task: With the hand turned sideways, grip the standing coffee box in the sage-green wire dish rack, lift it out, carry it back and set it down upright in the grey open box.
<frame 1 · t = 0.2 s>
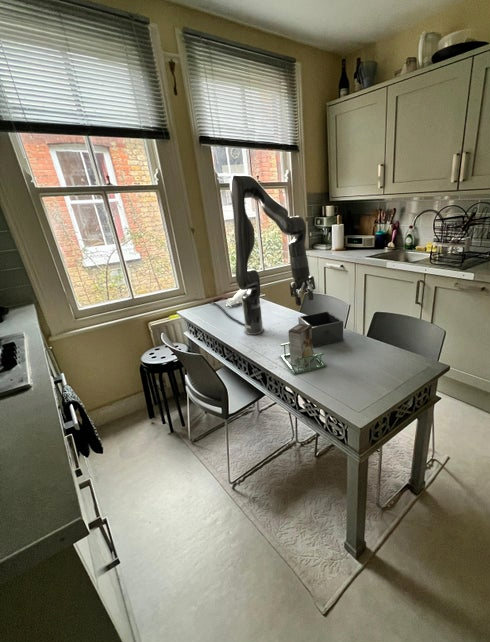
hand: (305, 302, 140), 22 cm above the table, tool pointing down, fingers open, 8 cm apart
coffee box: (302, 362, 137), resting in dish rack
dish rack: (302, 361, 137), on the table
grey open box: (320, 337, 159), on the table
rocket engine: (238, 303, 217), on the table
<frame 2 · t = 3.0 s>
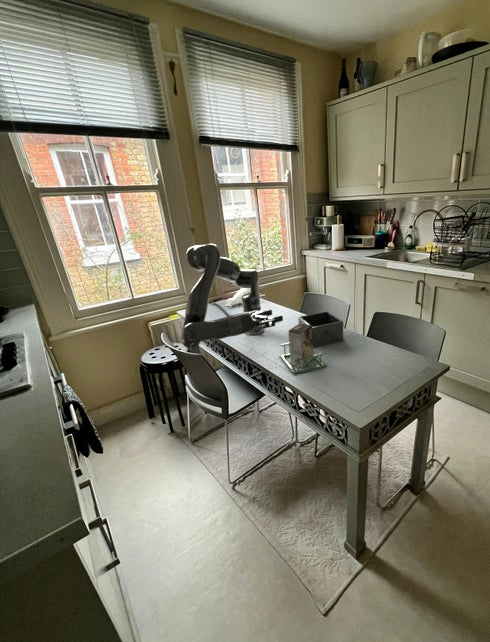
hand: (276, 314, 122), 24 cm above the table, tool horizontal, fingers open, 8 cm apart
nothing on the table moved.
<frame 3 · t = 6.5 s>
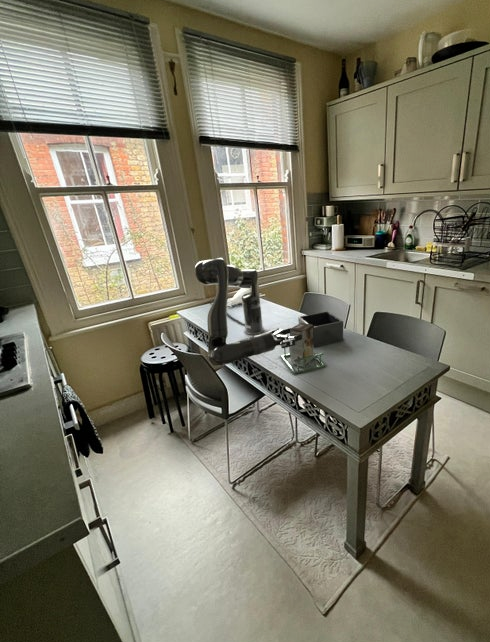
hand: (296, 333, 130), 14 cm above the table, tool horizontal, fingers open, 8 cm apart
coffee box: (302, 361, 137), resting in dish rack, touching gripper
everything else where it was.
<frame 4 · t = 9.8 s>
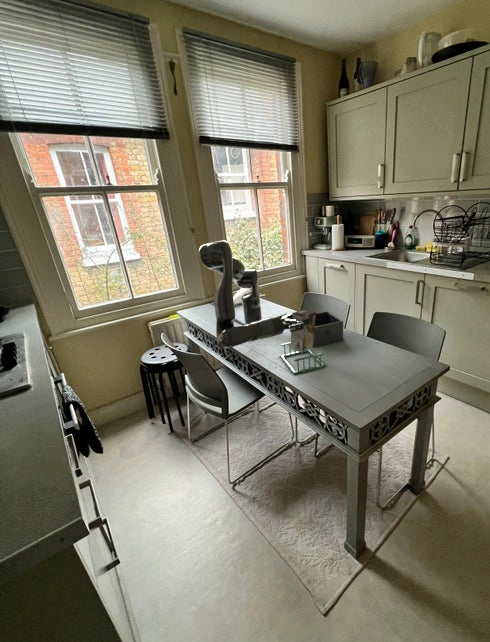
hand: (304, 318, 130), 20 cm above the table, tool horizontal, fingers closed on coffee box, 8 cm apart
coffee box: (301, 348, 135), point 6 cm above the table, touching gripper
everything else where it was.
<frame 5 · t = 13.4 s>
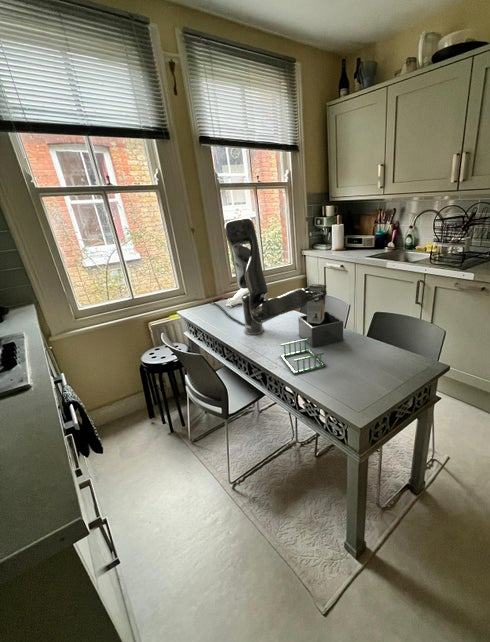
hand: (317, 290, 138), 27 cm above the table, tool horizontal, fingers closed on coffee box, 8 cm apart
coffee box: (315, 321, 143), point 14 cm above the table, touching gripper
everything else where it was.
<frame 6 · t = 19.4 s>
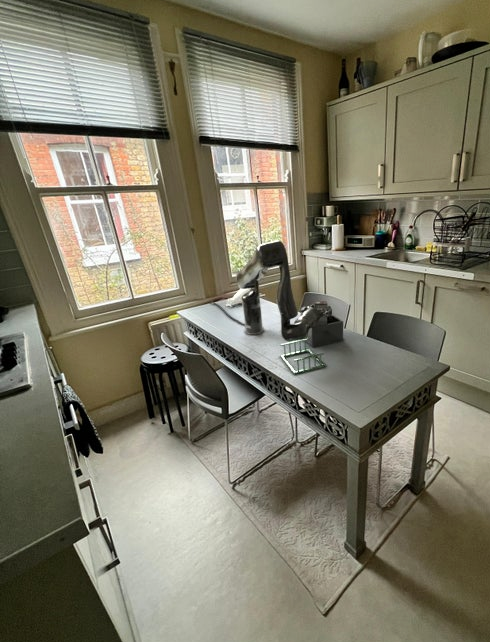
hand: (321, 306, 154), 16 cm above the table, tool horizontal, fingers closed on coffee box, 8 cm apart
coffee box: (319, 334, 159), point 2 cm above the table, touching gripper, grey open box
everything else where it was.
when the fingers open (16 cm above the table, at t = 19.6 s): coffee box stays where it is, resting on grey open box.
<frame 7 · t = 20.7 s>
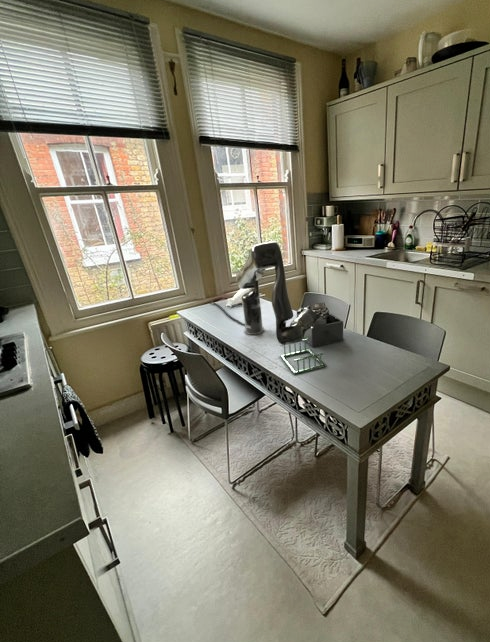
hand: (318, 308, 150), 17 cm above the table, tool horizontal, fingers open, 8 cm apart
coffee box: (320, 336, 159), point 1 cm above the table, touching grey open box
everything else where it was.
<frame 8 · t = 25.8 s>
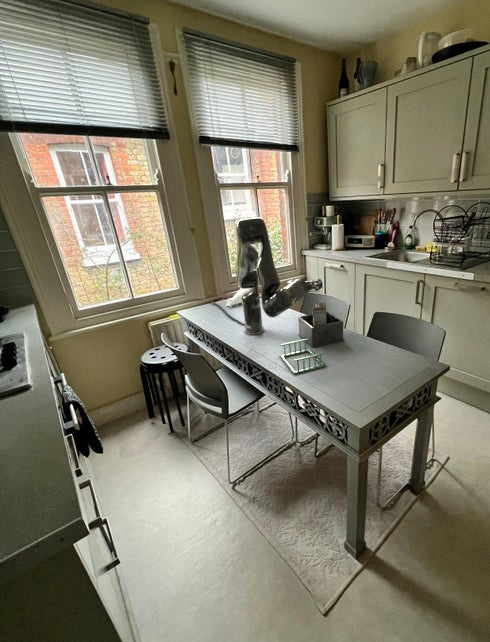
hand: (310, 280, 137), 32 cm above the table, tool horizontal, fingers open, 8 cm apart
nothing on the table moved.
at the end: coffee box inside the target area in the grey open box (0.3 cm from its centre), point 0.8 cm above the grey open box's base; coffee box tilted 0°; the gripper is holding nothing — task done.
